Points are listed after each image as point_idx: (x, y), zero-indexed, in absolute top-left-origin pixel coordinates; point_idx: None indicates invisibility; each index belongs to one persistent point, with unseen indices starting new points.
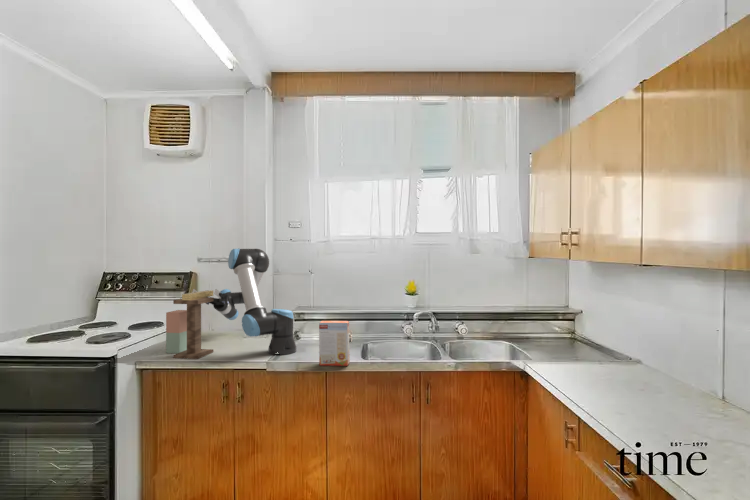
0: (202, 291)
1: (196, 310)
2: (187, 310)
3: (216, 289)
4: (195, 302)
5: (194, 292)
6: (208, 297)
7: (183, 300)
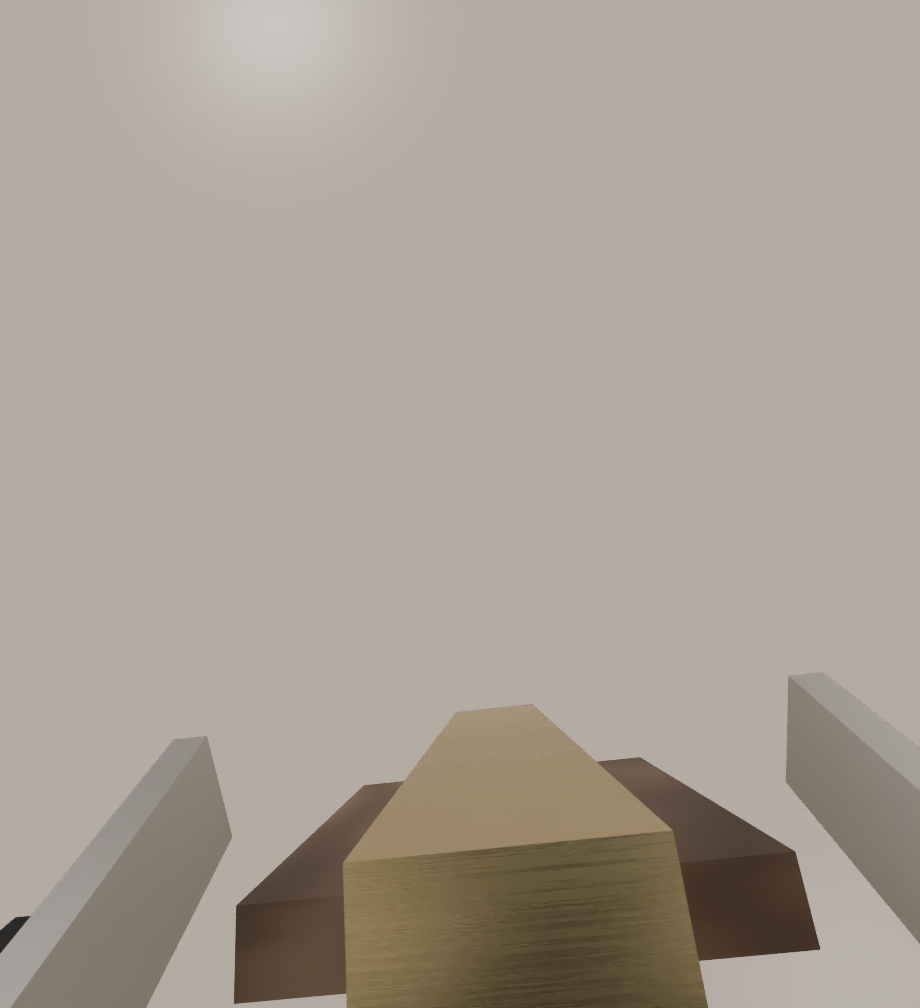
0: (535, 756)
1: None
2: None
3: (180, 745)
4: None
5: (549, 725)
6: None
7: None
